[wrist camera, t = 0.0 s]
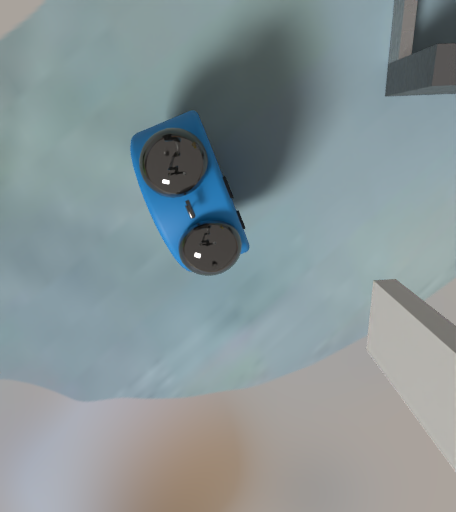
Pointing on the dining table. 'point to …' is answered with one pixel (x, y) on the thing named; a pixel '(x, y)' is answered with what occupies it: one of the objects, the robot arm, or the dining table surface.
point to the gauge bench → (417, 59)
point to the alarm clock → (188, 195)
